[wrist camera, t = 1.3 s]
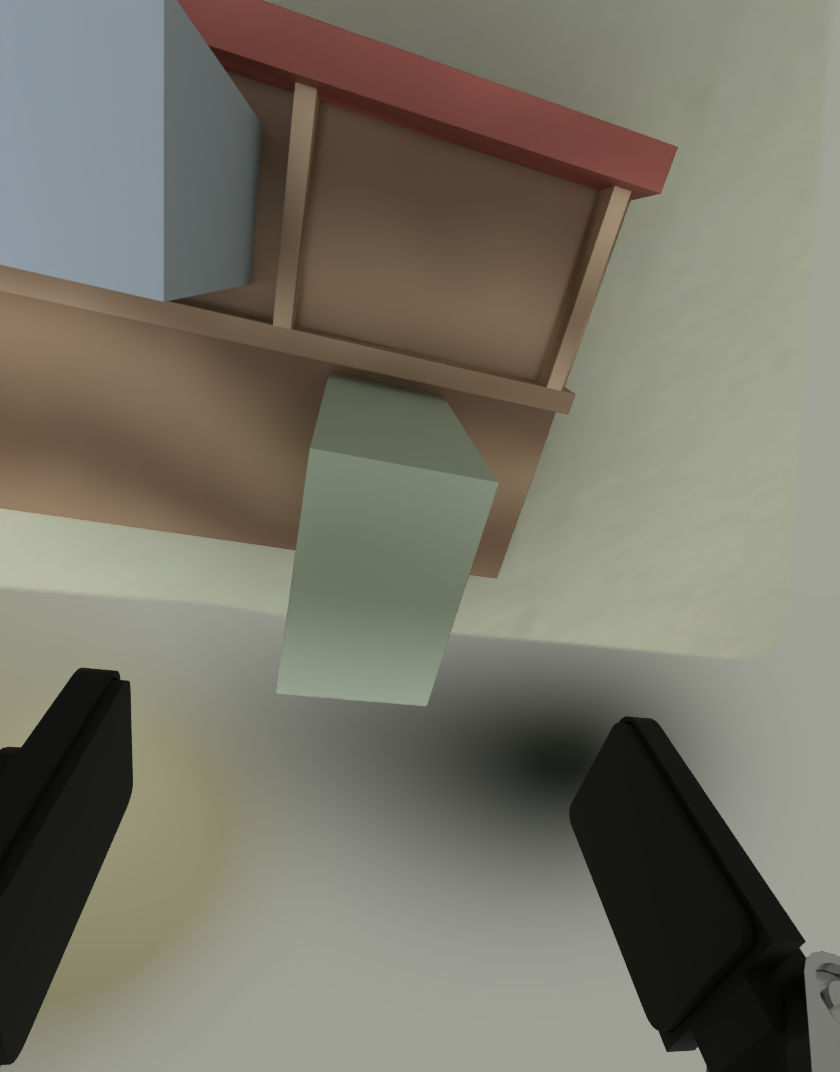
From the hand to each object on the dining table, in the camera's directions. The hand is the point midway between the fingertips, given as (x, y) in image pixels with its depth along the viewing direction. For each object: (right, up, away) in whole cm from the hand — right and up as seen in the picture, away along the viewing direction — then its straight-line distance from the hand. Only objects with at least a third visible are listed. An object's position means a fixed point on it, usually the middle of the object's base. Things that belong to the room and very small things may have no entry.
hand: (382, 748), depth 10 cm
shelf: (-4, +11, +9) cm, 15 cm away
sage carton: (-1, +7, +11) cm, 13 cm away
